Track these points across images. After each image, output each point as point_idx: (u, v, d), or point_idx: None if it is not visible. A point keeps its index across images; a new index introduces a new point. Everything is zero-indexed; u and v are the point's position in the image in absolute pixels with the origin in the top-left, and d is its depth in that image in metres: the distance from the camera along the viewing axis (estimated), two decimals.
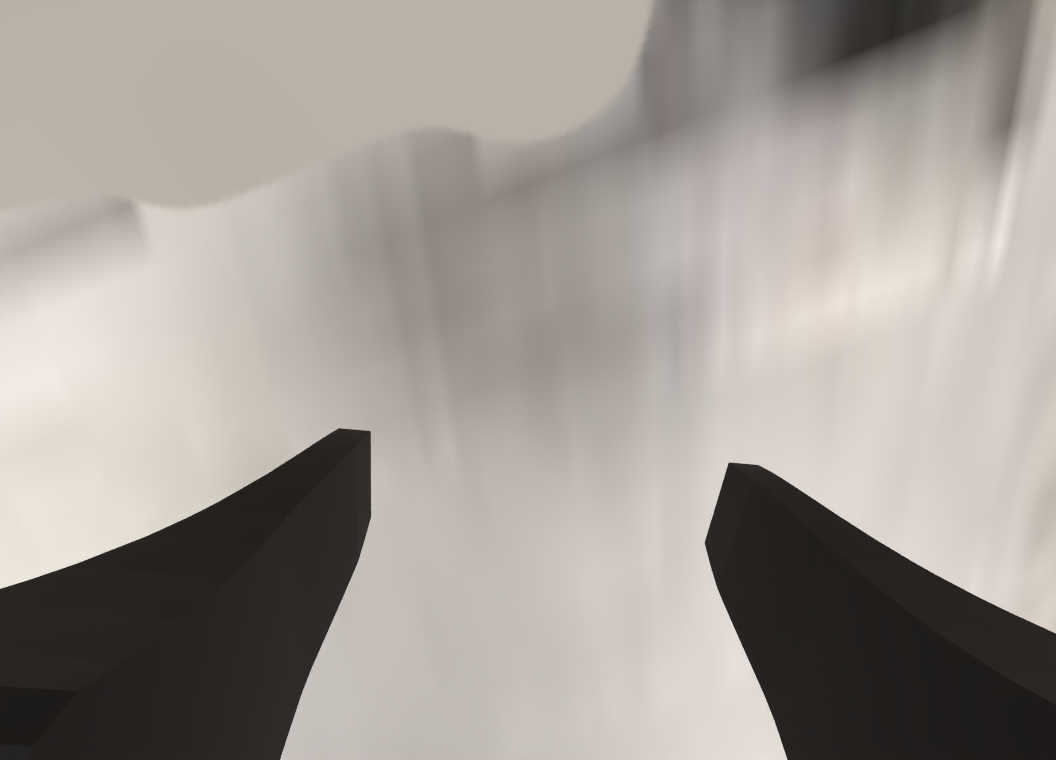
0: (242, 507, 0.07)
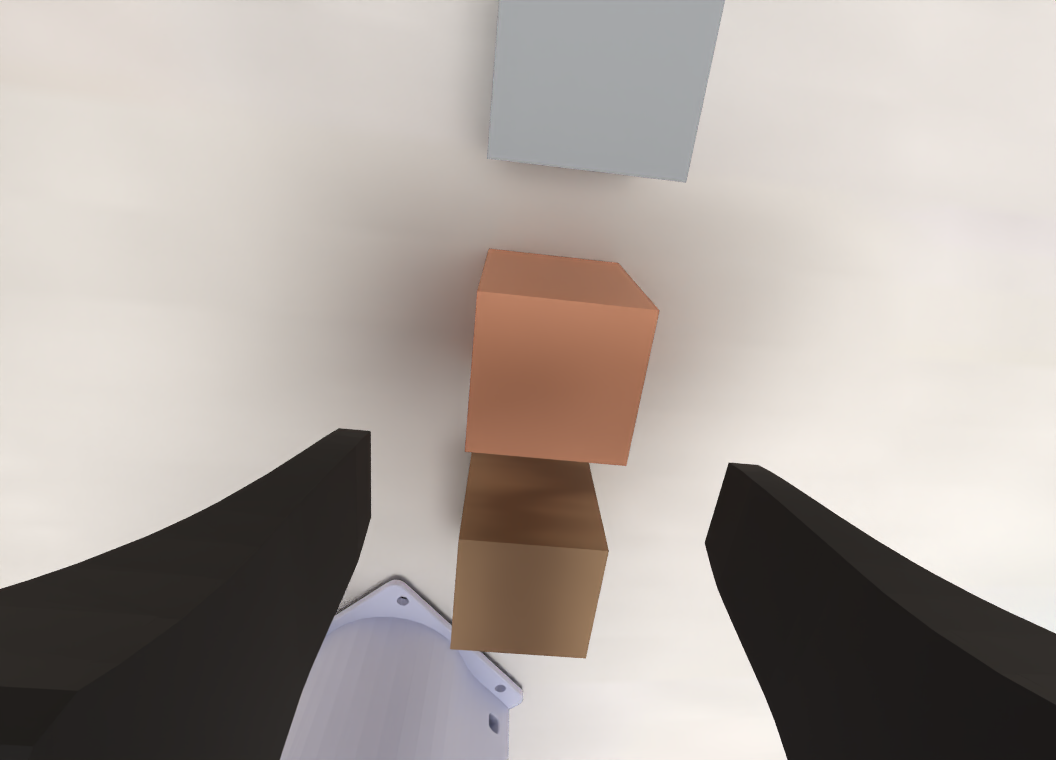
0: (243, 507, 0.07)
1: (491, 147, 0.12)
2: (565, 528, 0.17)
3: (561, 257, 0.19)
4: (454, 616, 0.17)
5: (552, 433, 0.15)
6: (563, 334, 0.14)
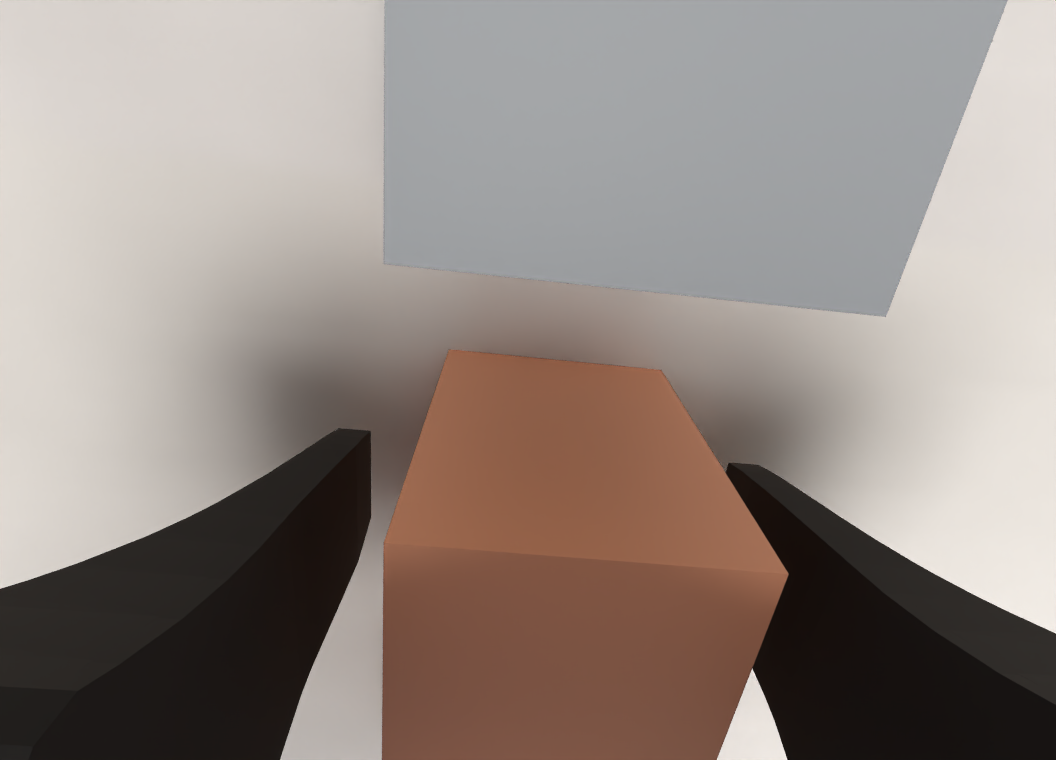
0: (243, 506, 0.07)
1: (392, 238, 0.05)
2: None
3: (568, 363, 0.11)
4: None
5: None
6: (577, 617, 0.06)
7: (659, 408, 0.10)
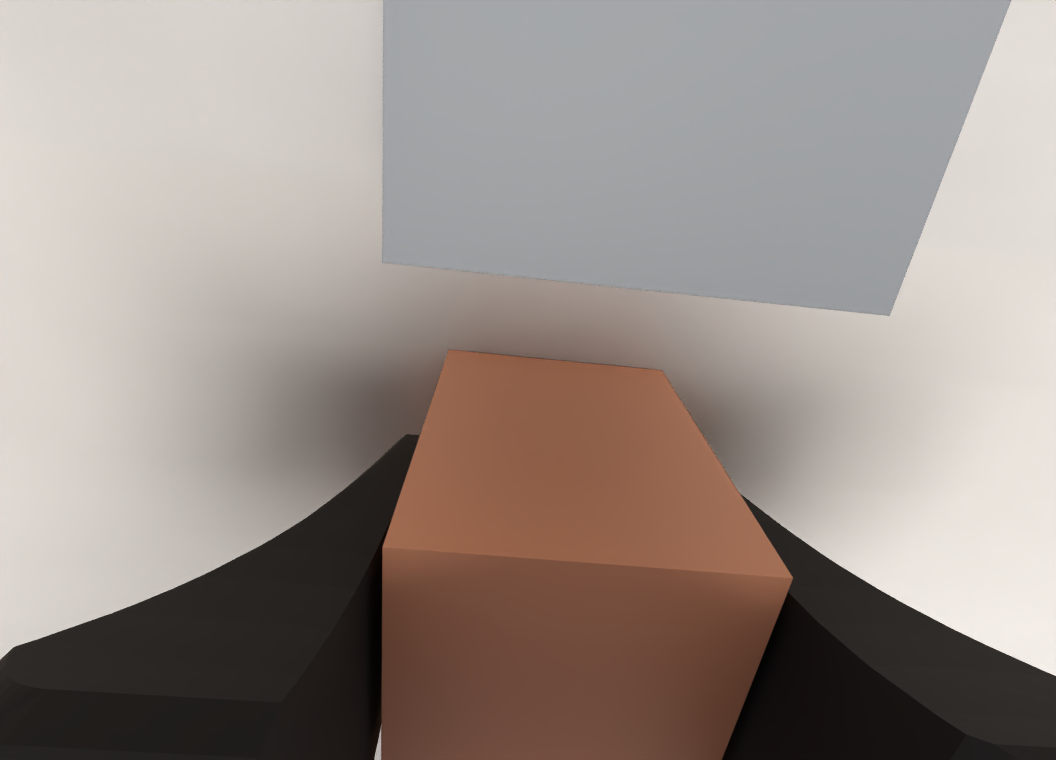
0: (343, 514, 0.07)
1: (391, 236, 0.04)
2: None
3: (569, 364, 0.11)
4: None
5: None
6: (578, 621, 0.06)
7: (660, 409, 0.10)
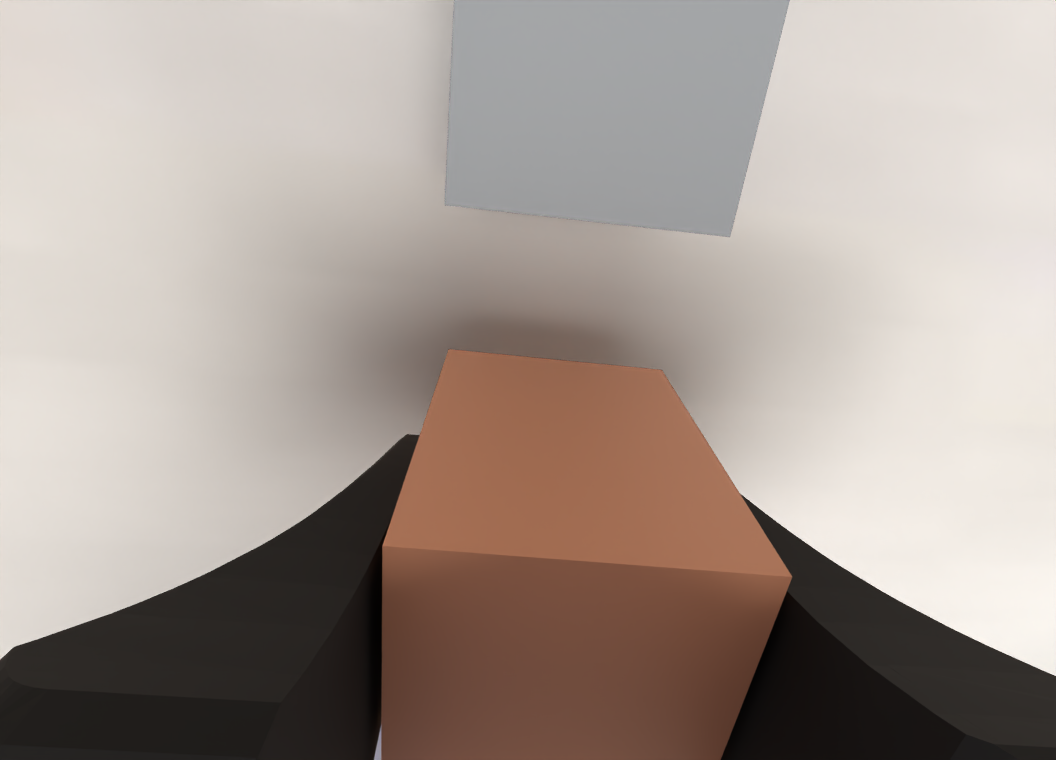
0: (342, 515, 0.07)
1: (450, 190, 0.08)
2: None
3: (568, 363, 0.11)
4: None
5: None
6: (578, 620, 0.06)
7: (660, 409, 0.10)
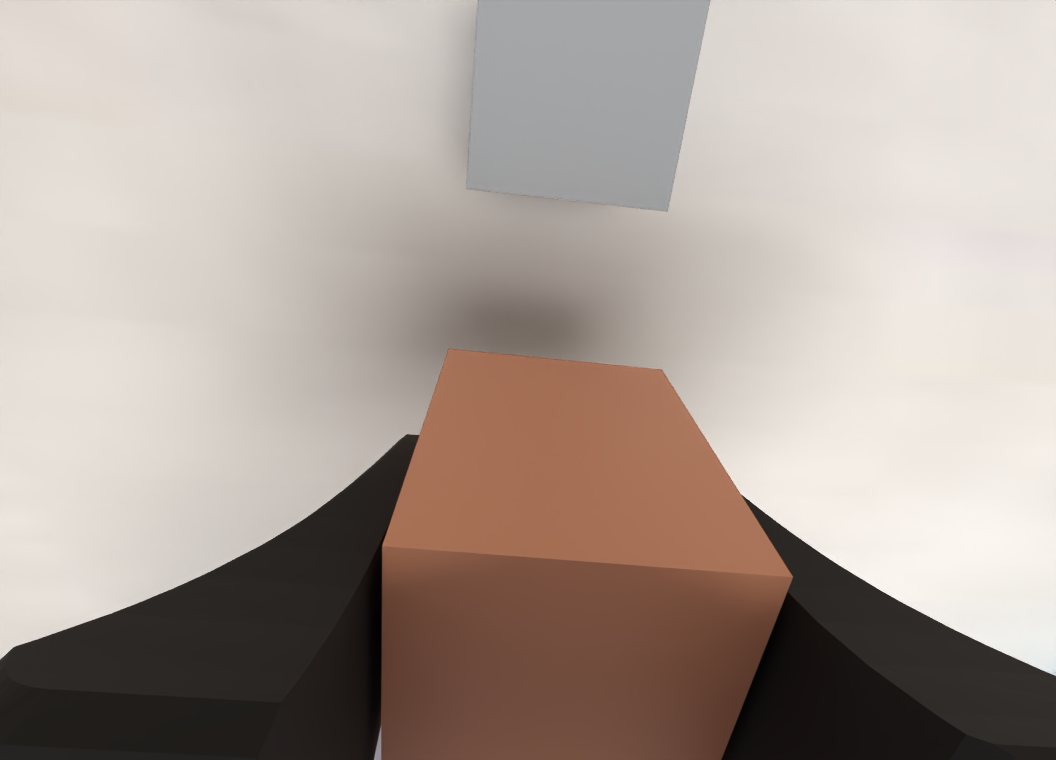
0: (343, 515, 0.07)
1: (470, 178, 0.12)
2: None
3: (569, 363, 0.11)
4: None
5: None
6: (578, 621, 0.06)
7: (660, 408, 0.10)
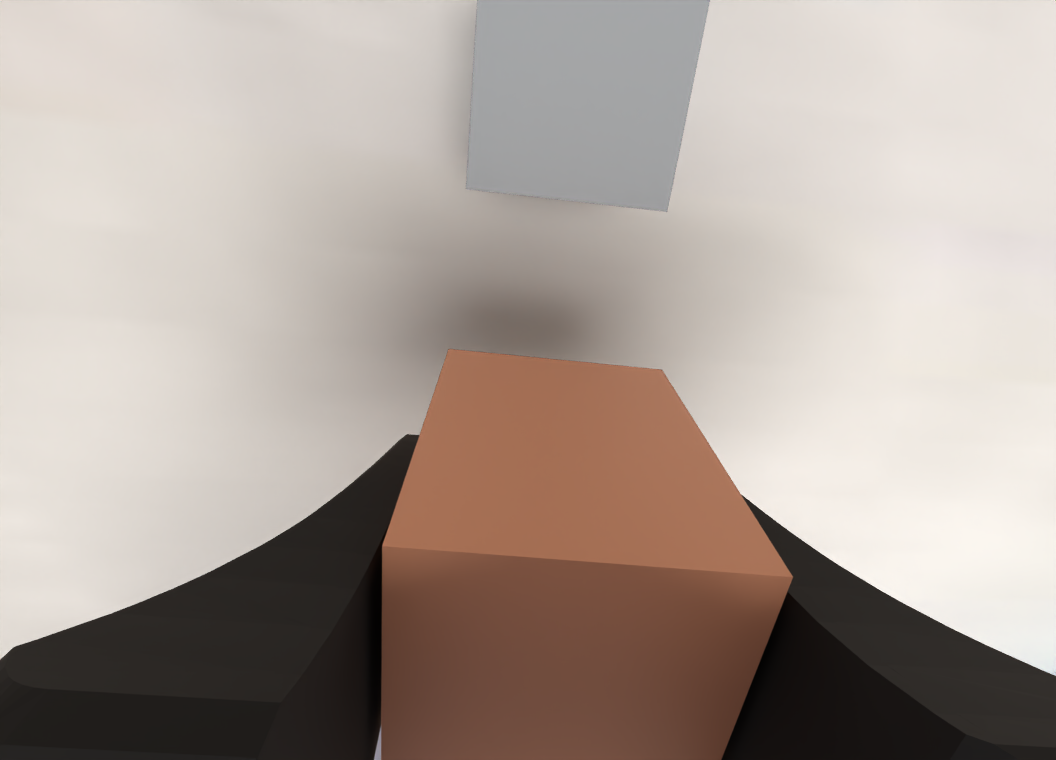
0: (343, 515, 0.07)
1: (470, 178, 0.12)
2: None
3: (569, 363, 0.11)
4: None
5: None
6: (578, 621, 0.06)
7: (660, 408, 0.10)
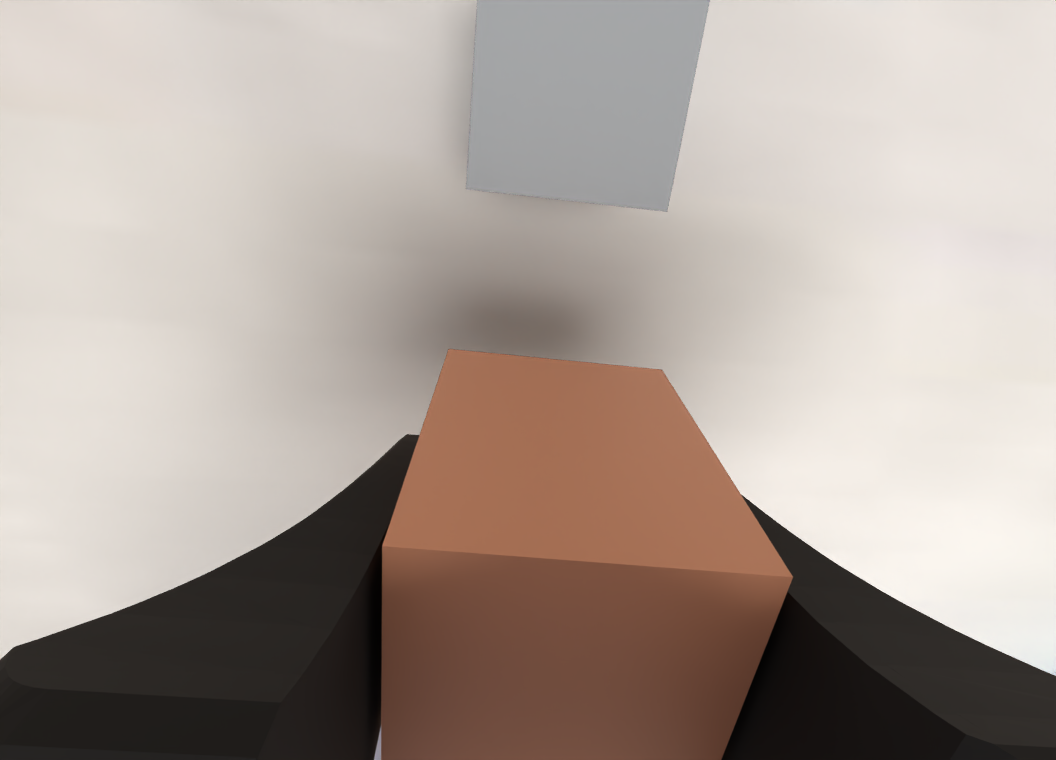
0: (343, 515, 0.07)
1: (470, 178, 0.12)
2: None
3: (569, 363, 0.11)
4: None
5: None
6: (578, 621, 0.06)
7: (660, 408, 0.10)
